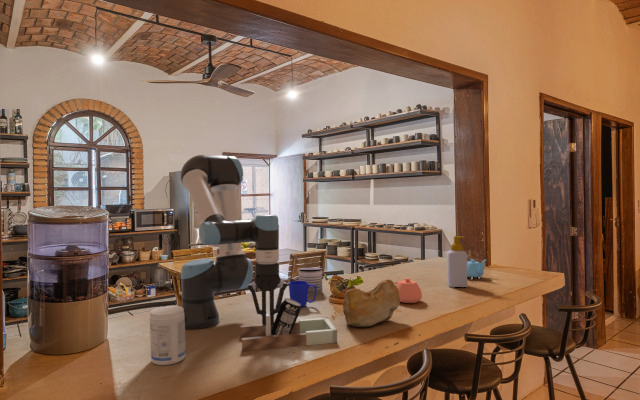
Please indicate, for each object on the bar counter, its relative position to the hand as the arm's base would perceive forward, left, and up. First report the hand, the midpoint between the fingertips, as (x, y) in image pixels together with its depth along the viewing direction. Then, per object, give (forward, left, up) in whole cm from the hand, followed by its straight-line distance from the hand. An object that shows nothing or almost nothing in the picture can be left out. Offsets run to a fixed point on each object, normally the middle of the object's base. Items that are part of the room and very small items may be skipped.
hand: (268, 334), depth 138 cm
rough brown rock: (+38, +13, -3) cm, 41 cm away
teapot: (+119, +72, -2) cm, 140 cm away
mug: (+18, +39, -2) cm, 44 cm away
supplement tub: (-30, -8, -2) cm, 31 cm away
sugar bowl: (+63, +35, -3) cm, 73 cm away
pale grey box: (+16, 0, -2) cm, 17 cm away
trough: (+1, 0, -2) cm, 3 cm away
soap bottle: (+100, +56, -2) cm, 115 cm away
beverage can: (+4, 0, -1) cm, 4 cm away
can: (+26, +63, -2) cm, 69 cm away
